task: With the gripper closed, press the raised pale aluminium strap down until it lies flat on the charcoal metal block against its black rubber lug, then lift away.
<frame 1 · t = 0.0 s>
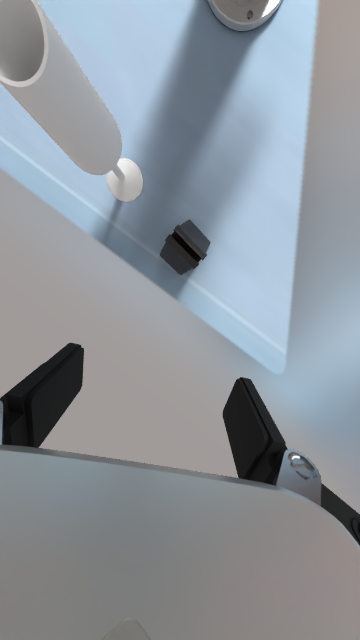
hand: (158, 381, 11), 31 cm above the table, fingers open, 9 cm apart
champagne flute: (125, 181, 33), on the table
phone stand: (184, 248, 37), on the table
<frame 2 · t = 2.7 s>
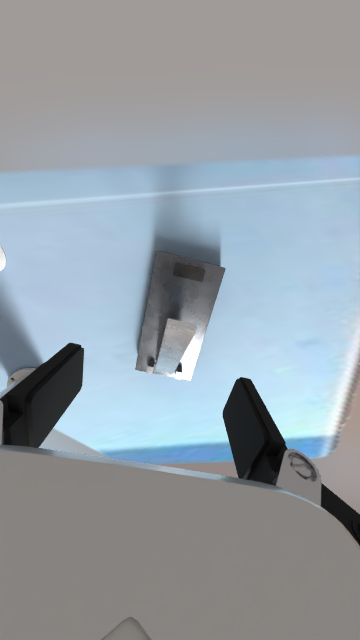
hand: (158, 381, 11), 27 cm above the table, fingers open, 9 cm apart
strap: (171, 352, 30), point 10 cm above the table, hinge at 35.0°
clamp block: (176, 317, 38), on the table
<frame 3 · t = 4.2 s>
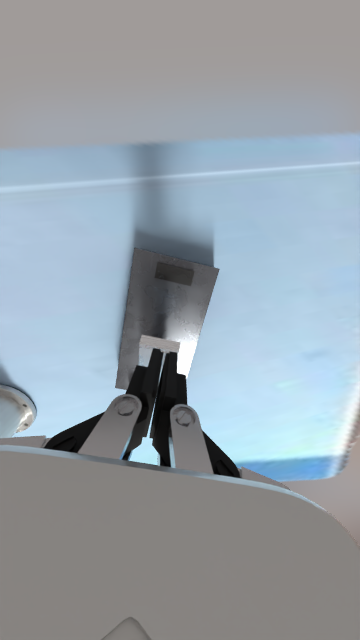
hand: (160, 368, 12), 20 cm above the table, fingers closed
strap: (153, 372, 24), point 10 cm above the table, hinge at 35.0°
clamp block: (162, 326, 32), on the table
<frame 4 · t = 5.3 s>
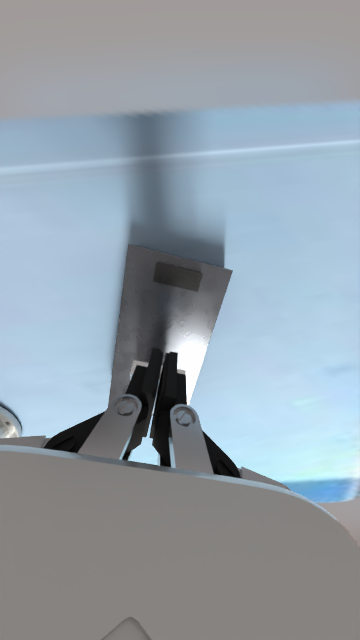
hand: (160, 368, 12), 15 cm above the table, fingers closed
strap: (151, 397, 20), point 10 cm above the table, hinge at 34.6°, touching gripper
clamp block: (163, 336, 28), on the table
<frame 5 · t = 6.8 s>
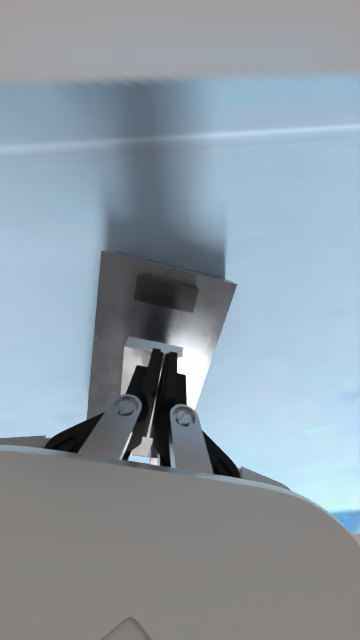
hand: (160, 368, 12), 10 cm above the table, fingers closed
strap: (140, 413, 17), point 7 cm above the table, hinge at 15.7°, touching gripper
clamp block: (152, 360, 23), on the table
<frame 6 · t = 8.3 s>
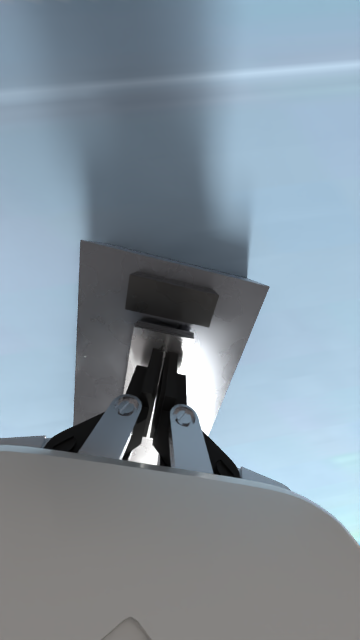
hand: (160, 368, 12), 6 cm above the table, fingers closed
strap: (143, 426, 15), point 5 cm above the table, hinge at 1.7°, touching gripper
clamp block: (153, 377, 19), on the table
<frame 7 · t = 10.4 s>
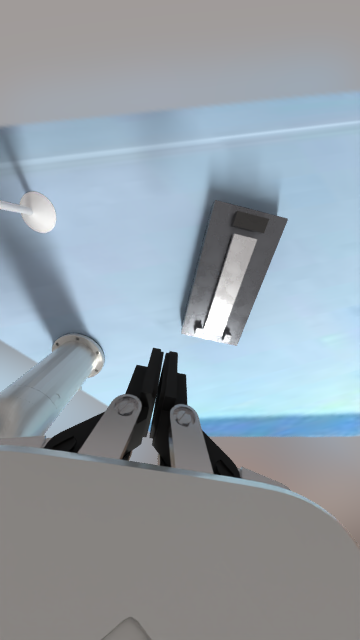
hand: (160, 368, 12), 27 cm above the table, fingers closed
champagne flute: (38, 213, 33), on the table
strap: (226, 290, 32), point 5 cm above the table, hinge at 1.5°
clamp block: (223, 279, 36), on the table
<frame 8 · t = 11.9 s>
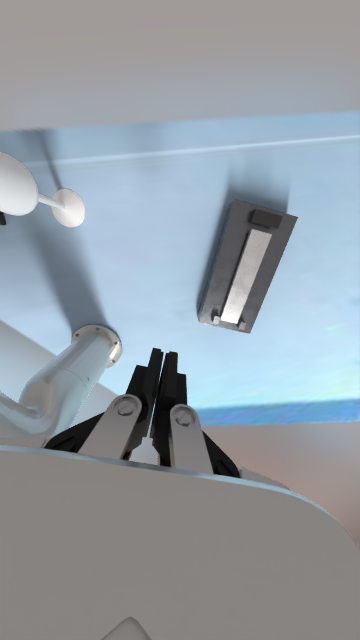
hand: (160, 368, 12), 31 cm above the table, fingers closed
champagne flute: (68, 208, 36), on the table
strap: (243, 280, 36), point 5 cm above the table, hinge at 1.5°
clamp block: (237, 272, 40), on the table
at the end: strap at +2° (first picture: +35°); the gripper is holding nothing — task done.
